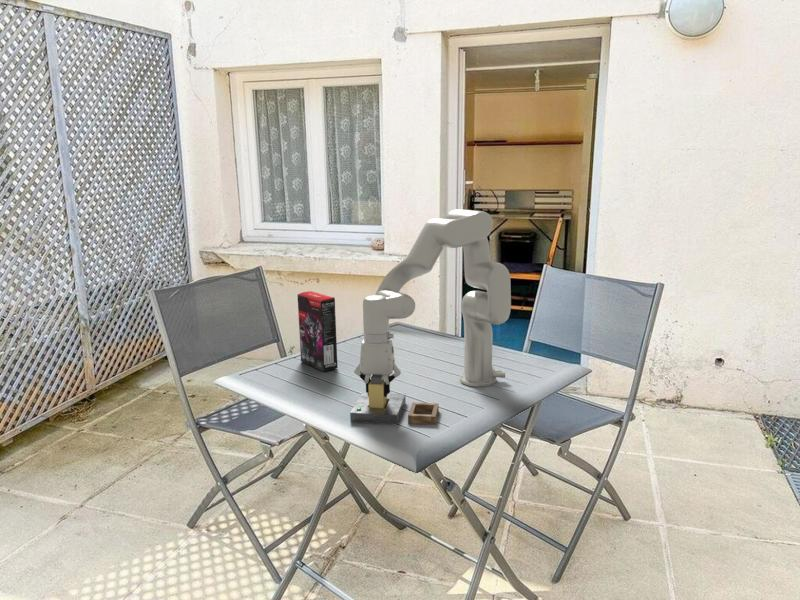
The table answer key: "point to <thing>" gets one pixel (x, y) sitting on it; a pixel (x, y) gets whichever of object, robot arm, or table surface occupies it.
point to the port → (378, 410)
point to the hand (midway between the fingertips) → (377, 394)
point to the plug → (377, 392)
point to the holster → (423, 418)
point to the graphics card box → (317, 330)
